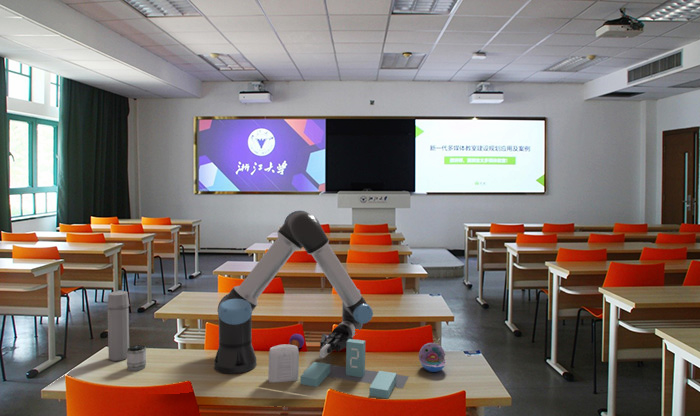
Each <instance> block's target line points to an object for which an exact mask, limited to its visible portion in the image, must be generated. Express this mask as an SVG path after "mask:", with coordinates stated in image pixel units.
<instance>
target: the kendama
mask: <svg viewBox="0 0 700 416" xmlns="http://www.w3.org/2000/svg"><path fill="white" fill-rule="evenodd" d="M288 344H289V345H294V346H297V347H298V350H299V349H301V348H302V347H304V344H305V339H304V336H303V335H302V334H300V333H294V334H292V335H291V336H290V338H289V340H288Z"/></svg>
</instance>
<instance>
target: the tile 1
mask: <svg viewBox="0 0 700 416" xmlns="http://www.w3.org/2000/svg"><path fill="white" fill-rule="evenodd" d="M311 364H312V363H311ZM311 364H310V365H311ZM310 365H309V366H310ZM330 365H331V364H330V363H326V362H325V363H324V362H320V361H319V362H318V361H314V363H313V364H312V365H311V366H310V367H309V366H308V367H309V368H308V367H307V368H308V369H307V368H306V369H307V370H306V369H305V370H306V371H305V370H304V371H305V372H304V371H303V372H304V373H303V372H302V374H301V375H299V376H300V378H299V379H300V385H303V386H304V385H305V386H309V387H316V388H317V387H318V386H320V384H321V383H323V381H324V380H325V379H326V378H328V377H327V375H328V374H329V373H330Z"/></svg>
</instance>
